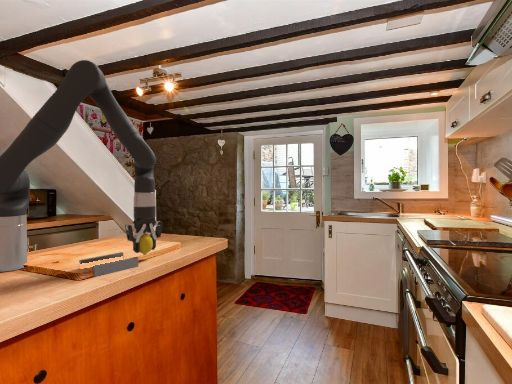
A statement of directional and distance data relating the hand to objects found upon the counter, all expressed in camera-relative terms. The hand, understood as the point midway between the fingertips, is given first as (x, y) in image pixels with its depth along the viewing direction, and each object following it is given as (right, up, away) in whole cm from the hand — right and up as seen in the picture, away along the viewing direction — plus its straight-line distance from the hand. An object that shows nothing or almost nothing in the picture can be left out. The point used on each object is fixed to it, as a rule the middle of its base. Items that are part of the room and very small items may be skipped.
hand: (144, 250), depth 106 cm
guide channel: (-8, -4, -10) cm, 13 cm away
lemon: (0, -2, 0) cm, 2 cm away
